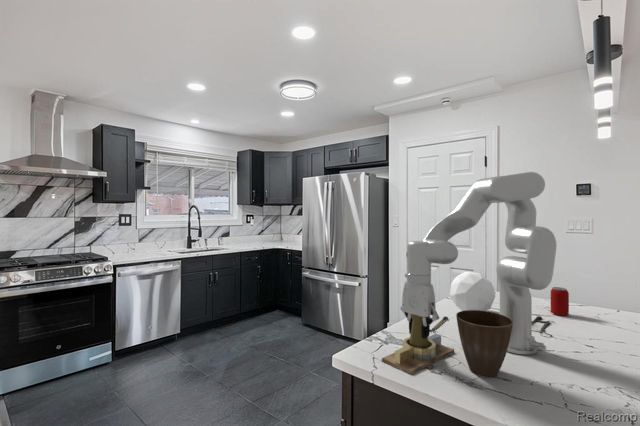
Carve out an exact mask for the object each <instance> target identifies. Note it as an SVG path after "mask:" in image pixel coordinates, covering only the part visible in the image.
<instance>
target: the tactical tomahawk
mask: <svg viewBox="0 0 640 426" xmlns="http://www.w3.org/2000/svg"><path fill="white" fill-rule="evenodd" d="M448 319H449V317H448V316H443V317H442V319H441V320H440V321H439V322H438V323H437V324H435V325H434V326H433V327H432V328H431V329H430V333H432V332H433V334H436V333H437V331H435V330H437V329H438V328H440V326H442V325H443V324H444V323H445V322H446V321H448ZM441 324H442V325H441Z"/></svg>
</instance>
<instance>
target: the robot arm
mask: <svg viewBox="0 0 640 426" xmlns="http://www.w3.org/2000/svg"><path fill="white" fill-rule="evenodd" d="M545 187H546V182H545V179H544V177H543V176H542V175H541V174H540V173H538V172H535V171H527V172H521V173H513V174H507V175H499V176H498V175H497V176H492V177H486V178H485V177H483V178H480V179H477V180H476V181H475V182H473V183H472V184H471V185H470V187H469V189H467V191H466V193H465V194H464V195H463V197H462V198H461V200H460V201H459V202H458V203H457V205H456V206H455V208H454V209H453V210H452V211H451V212H450V213H448V214H447V215H446V216H445V217H444V218H443V219H441V220H440V221H438V222H437V223H436V224H435V225H434V226H433V227H432V228H431V229H430V230H429V232H428V233H427V234H426V235H425V237H424V238H423V240H410V241H409V242H408V243H407V246H406V272H405V273H404V277H405V278H406V281H405V282H404V284H403V289H402V290H403V291H402V299H401V306H400V308H399V309H400V311H402V313H403V314H404V315H405V317H406V320H407V322H408V330H409V331H408V334H409V335H411V327H412V320H413V319H412V318H411V314H413V315H417V316H420V317H422V320H423V326H422V338H427V337H429V336H430V333H431V332H430V330H431V328H430V325H432V323H433V324H434V322H435V321H438V320H439V319H440V315H439V314H438V312H437V310H436V294H435V288H434V285H433V284H432V264H440V265H450V264H452V263H454V262H456V260H457V258H458V257H459V249H458V247H457V246H456V245H455V244H454V243H452V242H451V241H449V240H450V239H451V238H453V237H454V236H456V235H458V234H459V233H462V232H465V231H468V230H470V229H472V228H474V227H475V226H477V224H478V223H479V221H480V220H481V219H482V217H483V216H484V214H485V213H486V212H487V210H488V209H489V208H490V206H491V205H492V204H498V203H500V204H501V203H504V204H505V207H506V208H507V221H506V222H507V223H506V229H505V237H504V245H505V247H506V248H507V250H509V251H512V252H513V253H518V254H524V255H526V257H523V256H515V255H508V256H503V257H502V258H501V259H499V260H498V262H497V263H496V270H495V271H496V275H497V276H496V277H497V280H498V287H499V288H498V289H499V314H501V315H504V316H506V317H508V318H510V319H511V320H512V321H513V325H512V332H511V337H510V342H509V346H508V349H507V352H506V353H512V354H517V355H526V356H527V355H534V354H537V353H538V351H541V352H544V353H546V350H547V346H546V345H545V343H543V342H539V341H537V340H536V339H535V337H536V336H533V335H532V332H533V331H532V330H533V329H532V328H533V325H532V321H533V320H532V319H533V318H532V316H533V315H532V313H533V312H532V309H533V308H532V307H533V306H532V304H533V303H532V299H533V298H532V294H531V291H530V289H531V290H535V291H537V290H538V291H541V290H545V289H546V288H548V286H550V284H551V282H552V280H553V278H554V277H553V276H554V269H555V261H556V253H557V239H556V236H555V234H554V233H553V232H552V231H551V230H550V229H549V228H547V227H544V226H539V225H538V226H537V208H536V206H535V203H534V202H533V201H532V199H534V198H535V199H536V198H537V197H539V196H540V195H541V194H542V193H543V192H544V190H545ZM426 318H427V319H426Z"/></svg>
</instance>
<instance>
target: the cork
mask: <svg viewBox="0 0 640 426" xmlns="http://www.w3.org/2000/svg"><path fill="white" fill-rule="evenodd" d="M411 318H412V319H413V320H412V327H411V334H409V337H410V342H409V343H410V344H411V345H413V346H417V347H426V346H428V345H429V343H428V337H427V338H422V326H423V320H422V317H420V316H417V315H413V314H411ZM426 319H427V318H426Z"/></svg>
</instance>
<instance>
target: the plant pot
mask: <svg viewBox="0 0 640 426" xmlns="http://www.w3.org/2000/svg"><path fill="white" fill-rule="evenodd" d="M455 316H456V323H457V330H458V335H459V339H460V342H461V347H462V351H463V353H464V357H465V360H466V362H467V363H466V364H467V365H468V368H469V370H470V372H471V373H473V374H474V375H476V376H479V377H482V378H483V377H484V378H495V377H497V376H498V375H499V372H500V370H501V368H502V365H503V363H504V361H505V358H506V356H507V353H508V352H507V349H508V346H509V342H510V337H511V332H512V325H513V321H512V320H511V319H510V318H508V317H506V316H504V315H501V314H500V313H499V312H498V313H497V312H493V311H489V310H487V311H480V310H465V311H462V310H460V311H459V312H457V313H456V315H455Z"/></svg>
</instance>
